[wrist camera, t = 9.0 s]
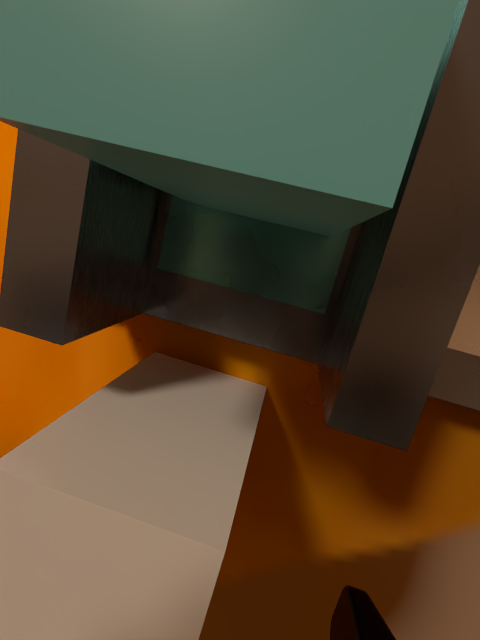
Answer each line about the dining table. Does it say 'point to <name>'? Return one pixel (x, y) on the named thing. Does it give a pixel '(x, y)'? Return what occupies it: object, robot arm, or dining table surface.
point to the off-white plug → (125, 507)
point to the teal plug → (232, 96)
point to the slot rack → (277, 265)
